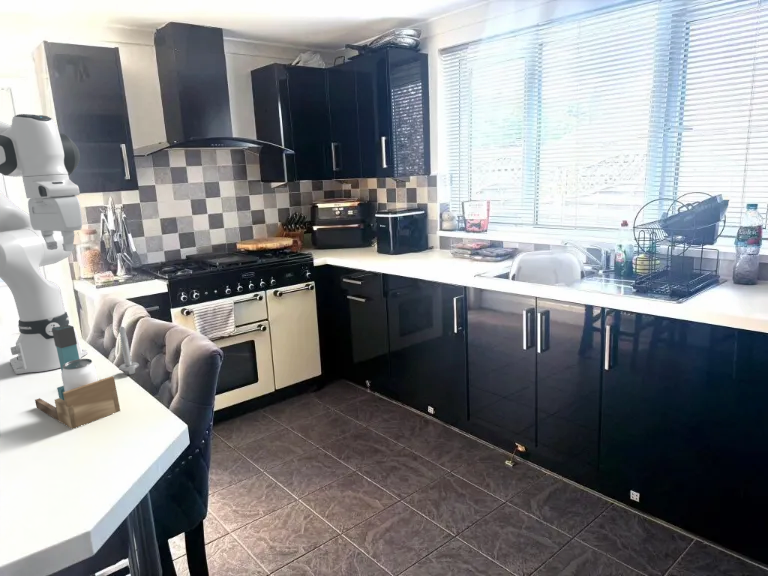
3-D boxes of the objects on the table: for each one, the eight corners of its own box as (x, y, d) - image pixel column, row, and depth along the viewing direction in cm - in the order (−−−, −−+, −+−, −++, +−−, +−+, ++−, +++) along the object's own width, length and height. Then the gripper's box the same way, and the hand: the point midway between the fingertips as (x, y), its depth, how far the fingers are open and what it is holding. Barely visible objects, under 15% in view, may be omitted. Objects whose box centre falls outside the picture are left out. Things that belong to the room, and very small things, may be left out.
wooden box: (36, 407, 124) (29, 375, 122) (82, 392, 132) (75, 361, 130) (72, 429, 112) (64, 393, 110) (120, 410, 119) (113, 376, 117)
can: (97, 404, 123) (87, 355, 119) (108, 413, 118) (98, 362, 115) (65, 415, 118) (55, 364, 115) (76, 424, 114) (65, 372, 111)
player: (61, 412, 119) (43, 330, 115) (91, 401, 124) (75, 322, 120) (67, 415, 117) (49, 332, 113) (97, 404, 122) (81, 324, 118)
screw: (119, 378, 140) (120, 372, 144) (139, 374, 141) (140, 368, 146) (110, 330, 137) (112, 325, 141) (131, 326, 138) (132, 322, 143)
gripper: (16, 191, 125) (28, 250, 128) (50, 188, 112) (63, 254, 115) (46, 189, 129) (57, 246, 132) (82, 186, 117) (94, 249, 120)
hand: (60, 250), depth 123 cm, fingers open, 8 cm apart
